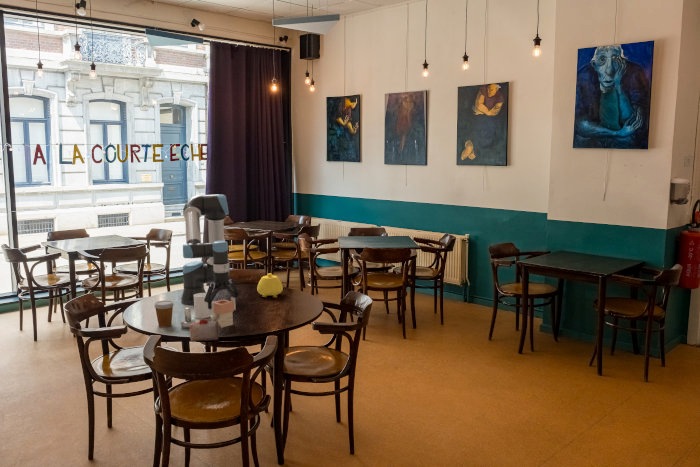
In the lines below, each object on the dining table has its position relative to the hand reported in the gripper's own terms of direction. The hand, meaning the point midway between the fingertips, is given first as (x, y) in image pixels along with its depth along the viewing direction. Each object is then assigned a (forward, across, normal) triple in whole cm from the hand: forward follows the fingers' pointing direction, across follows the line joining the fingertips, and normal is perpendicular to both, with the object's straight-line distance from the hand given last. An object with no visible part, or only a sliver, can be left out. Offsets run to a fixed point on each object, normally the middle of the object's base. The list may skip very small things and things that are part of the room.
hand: (222, 312), depth 310 cm
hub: (+7, -14, +10) cm, 18 cm away
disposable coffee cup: (+7, -20, +22) cm, 31 cm away
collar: (0, 0, 0) cm, 0 cm away
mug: (+7, +3, +23) cm, 24 cm away
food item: (+7, -20, -12) cm, 24 cm away
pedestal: (+7, 0, 0) cm, 7 cm away
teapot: (+7, +58, +30) cm, 66 cm away
